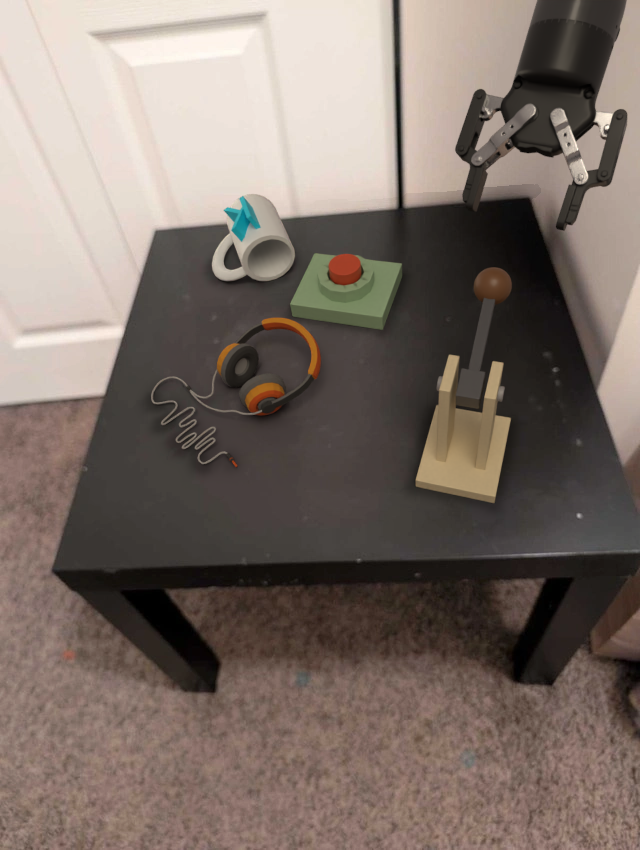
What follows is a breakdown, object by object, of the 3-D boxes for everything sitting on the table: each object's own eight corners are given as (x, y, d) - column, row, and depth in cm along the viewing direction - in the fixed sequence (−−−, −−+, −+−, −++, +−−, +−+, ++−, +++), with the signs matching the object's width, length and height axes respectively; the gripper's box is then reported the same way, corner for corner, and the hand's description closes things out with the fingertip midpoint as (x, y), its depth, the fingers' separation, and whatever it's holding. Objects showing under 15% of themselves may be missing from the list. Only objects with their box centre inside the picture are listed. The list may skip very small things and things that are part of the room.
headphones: (129, 384, 78) (262, 279, 80) (152, 406, 83) (278, 306, 84) (195, 481, 69) (344, 361, 71) (217, 499, 74) (356, 386, 75)
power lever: (477, 278, 68) (477, 257, 64) (513, 282, 67) (516, 262, 63) (448, 406, 63) (447, 391, 60) (486, 413, 62) (487, 398, 59)
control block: (402, 276, 88) (401, 252, 85) (382, 330, 83) (381, 306, 79) (316, 265, 91) (312, 242, 88) (292, 316, 86) (287, 293, 83)
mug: (246, 164, 90) (267, 214, 83) (281, 210, 97) (304, 259, 90) (178, 216, 93) (193, 268, 85) (217, 256, 100) (235, 308, 92)
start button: (365, 266, 85) (364, 255, 83) (356, 287, 82) (355, 276, 81) (335, 262, 86) (333, 251, 84) (325, 283, 84) (324, 272, 82)
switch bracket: (436, 411, 74) (439, 330, 64) (509, 424, 72) (525, 342, 62) (415, 486, 69) (415, 411, 59) (494, 503, 67) (508, 427, 56)
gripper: (486, 7, 58) (433, 196, 62) (659, 23, 53) (590, 229, 57) (499, 42, 65) (451, 211, 69) (654, 60, 60) (593, 241, 64)
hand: (514, 219), depth 63 cm, fingers open, 8 cm apart
